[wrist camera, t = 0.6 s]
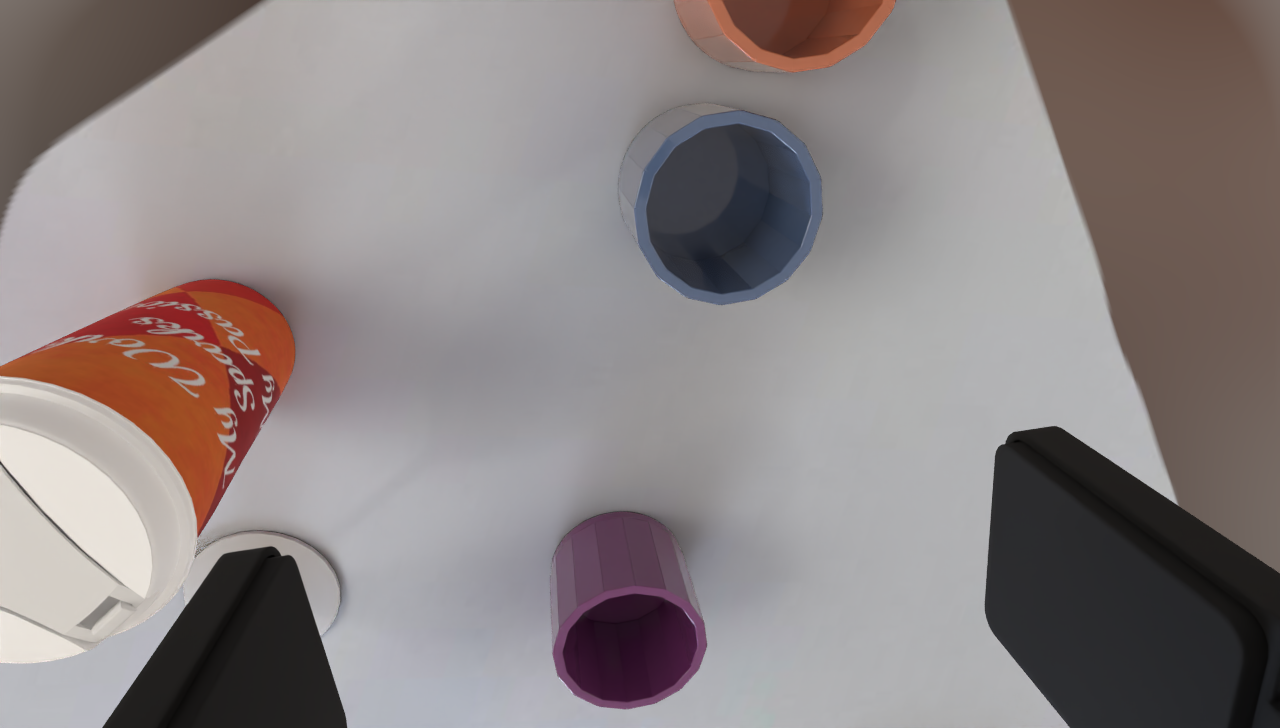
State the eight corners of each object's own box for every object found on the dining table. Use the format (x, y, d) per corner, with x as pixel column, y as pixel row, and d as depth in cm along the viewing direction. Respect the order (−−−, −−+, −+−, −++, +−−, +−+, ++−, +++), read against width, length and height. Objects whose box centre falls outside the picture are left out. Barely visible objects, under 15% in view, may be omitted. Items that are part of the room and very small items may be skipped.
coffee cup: (364, 349, 33) (244, 548, 20) (237, 464, 35) (41, 728, 21) (203, 207, 30) (-71, 324, 17) (71, 338, 32) (-288, 549, 18)
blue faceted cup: (587, 159, 32) (599, 179, 26) (729, 71, 31) (772, 72, 26) (667, 293, 34) (692, 337, 29) (799, 213, 34) (851, 242, 28)
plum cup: (524, 555, 38) (523, 637, 33) (640, 487, 38) (659, 560, 32) (595, 642, 41) (605, 731, 36) (705, 580, 41) (732, 661, 35)
